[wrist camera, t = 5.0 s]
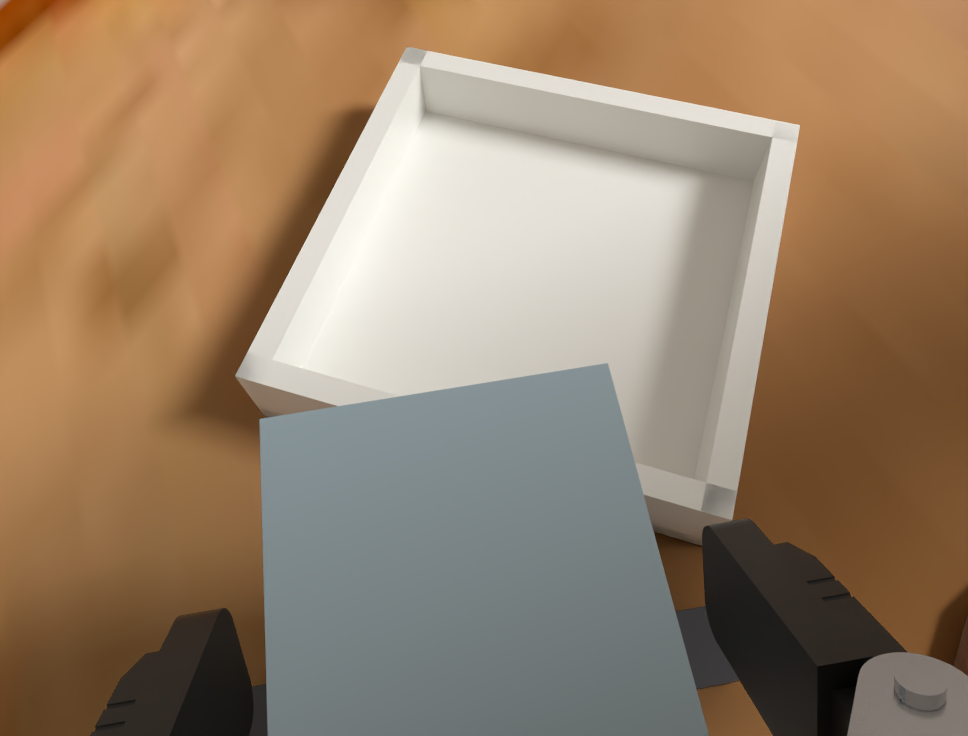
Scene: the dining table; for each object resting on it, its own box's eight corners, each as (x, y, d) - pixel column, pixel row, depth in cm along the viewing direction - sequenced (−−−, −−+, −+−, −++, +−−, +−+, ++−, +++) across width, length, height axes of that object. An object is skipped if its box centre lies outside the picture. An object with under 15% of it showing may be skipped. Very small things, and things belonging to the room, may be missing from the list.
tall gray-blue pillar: (555, 563, 19) (608, 363, 9) (604, 798, 16) (747, 875, 7) (390, 592, 19) (259, 418, 9) (416, 833, 16) (273, 967, 6)
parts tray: (415, 106, 26) (407, 46, 24) (773, 182, 24) (799, 125, 22) (264, 415, 21) (235, 376, 19) (705, 546, 19) (732, 520, 17)
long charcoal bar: (708, 613, 18) (723, 602, 17) (728, 683, 17) (746, 678, 16) (256, 694, 18) (235, 689, 16) (257, 769, 17) (235, 771, 15)
